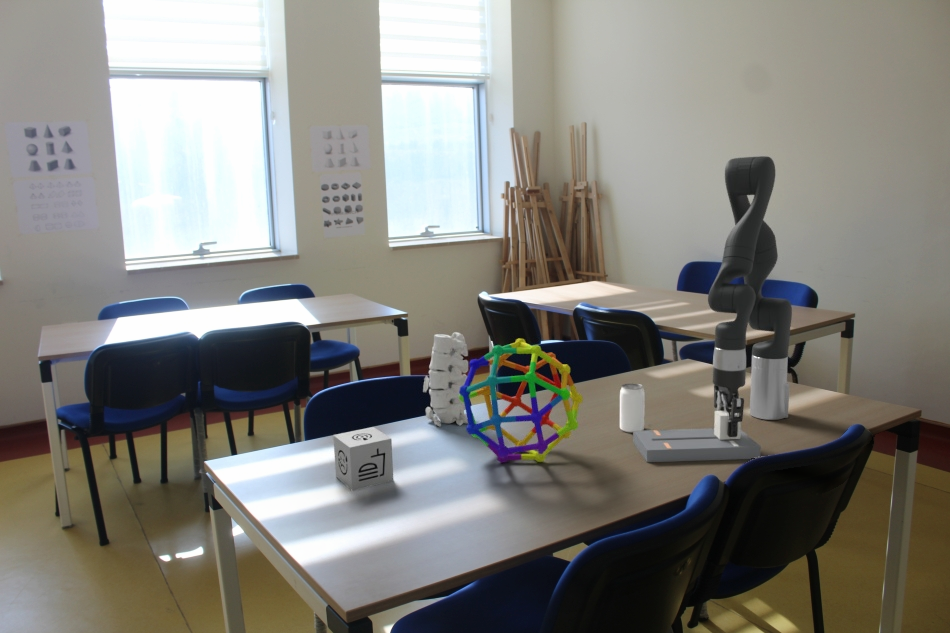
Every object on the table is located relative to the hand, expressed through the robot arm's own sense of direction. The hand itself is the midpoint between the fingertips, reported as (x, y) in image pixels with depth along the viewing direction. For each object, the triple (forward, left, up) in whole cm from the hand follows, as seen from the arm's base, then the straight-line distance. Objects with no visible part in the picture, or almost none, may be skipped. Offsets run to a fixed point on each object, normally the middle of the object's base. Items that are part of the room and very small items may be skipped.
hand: (727, 431), depth 179 cm
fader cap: (0, 0, -1) cm, 1 cm away
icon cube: (+88, +11, -5) cm, 89 cm away
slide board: (+8, 0, -4) cm, 9 cm away
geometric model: (+51, +2, -5) cm, 52 cm away
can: (+19, -17, -5) cm, 26 cm away
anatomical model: (+68, -29, -5) cm, 75 cm away
